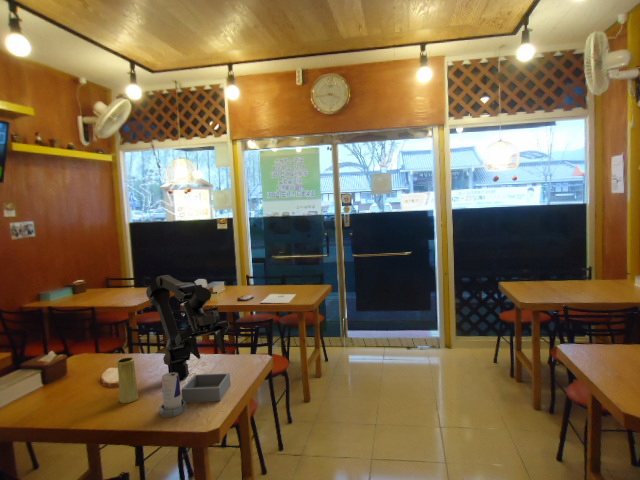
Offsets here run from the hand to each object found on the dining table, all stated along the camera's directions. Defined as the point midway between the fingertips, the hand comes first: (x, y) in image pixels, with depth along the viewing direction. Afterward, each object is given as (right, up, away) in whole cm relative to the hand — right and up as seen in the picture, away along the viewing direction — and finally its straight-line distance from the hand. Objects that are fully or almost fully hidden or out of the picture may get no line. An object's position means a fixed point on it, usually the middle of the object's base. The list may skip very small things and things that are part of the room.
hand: (211, 354), depth 147 cm
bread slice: (-43, -16, +25) cm, 52 cm away
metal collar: (-10, -16, -8) cm, 21 cm away
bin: (-3, -15, +4) cm, 15 cm away
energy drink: (-10, -16, -8) cm, 21 cm away
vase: (-30, -17, +3) cm, 34 cm away
